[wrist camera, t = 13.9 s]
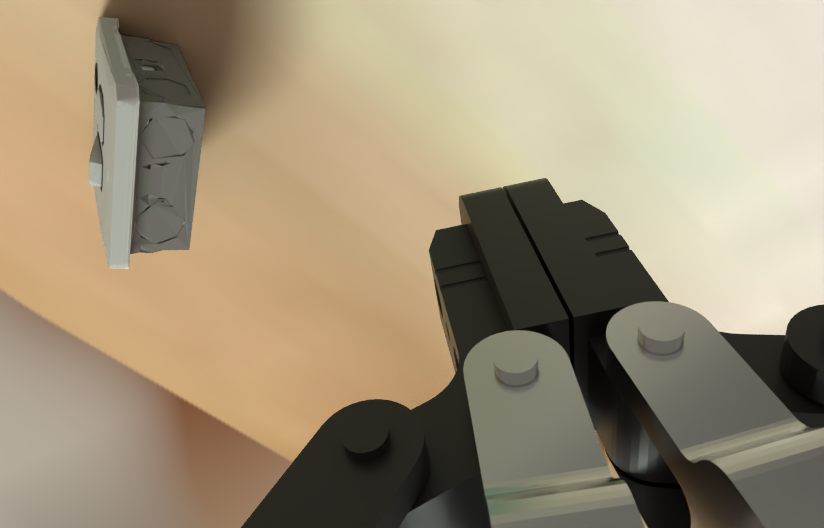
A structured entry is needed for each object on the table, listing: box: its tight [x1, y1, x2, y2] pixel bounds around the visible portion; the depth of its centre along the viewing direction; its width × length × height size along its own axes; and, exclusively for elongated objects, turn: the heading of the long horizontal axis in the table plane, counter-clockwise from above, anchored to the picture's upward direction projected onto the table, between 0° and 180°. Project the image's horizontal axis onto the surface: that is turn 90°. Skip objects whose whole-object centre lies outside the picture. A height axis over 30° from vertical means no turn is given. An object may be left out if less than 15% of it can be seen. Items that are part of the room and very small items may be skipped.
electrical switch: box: [89, 17, 205, 269], centre depth 34 cm, size 9×5×9 cm, turn 164°
